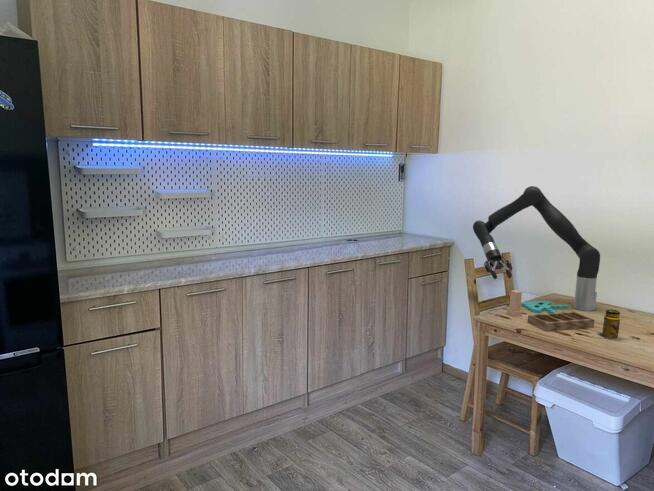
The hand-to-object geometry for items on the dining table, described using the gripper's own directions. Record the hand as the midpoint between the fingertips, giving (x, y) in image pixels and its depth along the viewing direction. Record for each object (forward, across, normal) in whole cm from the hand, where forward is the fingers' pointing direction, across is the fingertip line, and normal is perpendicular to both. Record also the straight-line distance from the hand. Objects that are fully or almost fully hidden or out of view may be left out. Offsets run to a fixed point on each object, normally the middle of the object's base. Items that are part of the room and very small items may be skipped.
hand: (503, 278), depth 249 cm
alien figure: (+16, +21, +7) cm, 28 cm away
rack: (+33, +11, -10) cm, 36 cm away
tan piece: (+20, 0, +3) cm, 20 cm away
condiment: (+46, +20, -23) cm, 55 cm away
